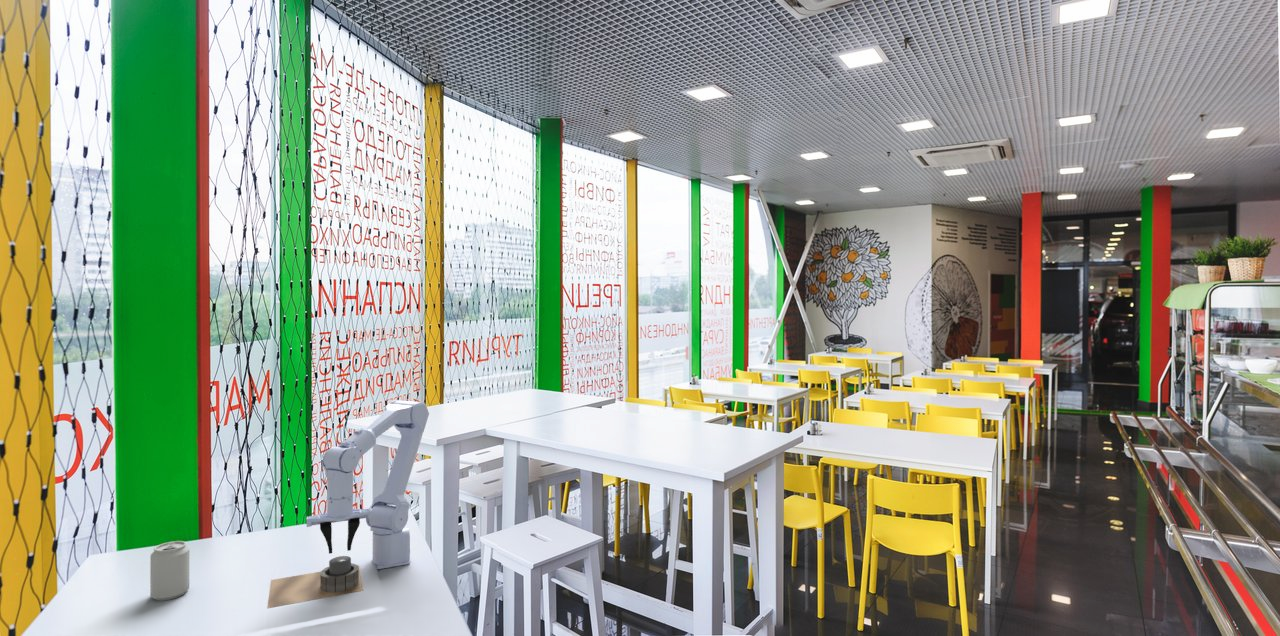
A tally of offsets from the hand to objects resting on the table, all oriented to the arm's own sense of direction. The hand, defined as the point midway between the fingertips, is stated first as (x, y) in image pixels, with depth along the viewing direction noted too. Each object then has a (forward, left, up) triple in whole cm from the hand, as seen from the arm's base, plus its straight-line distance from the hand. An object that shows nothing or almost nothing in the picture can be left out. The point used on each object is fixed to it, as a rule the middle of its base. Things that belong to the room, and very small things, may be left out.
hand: (339, 550), depth 152 cm
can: (+36, -14, -10) cm, 40 cm away
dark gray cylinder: (0, 0, -8) cm, 8 cm away
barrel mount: (+5, -2, -9) cm, 11 cm away
